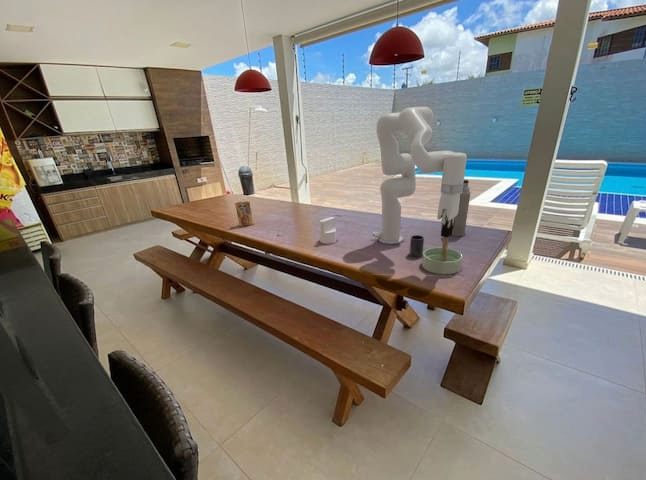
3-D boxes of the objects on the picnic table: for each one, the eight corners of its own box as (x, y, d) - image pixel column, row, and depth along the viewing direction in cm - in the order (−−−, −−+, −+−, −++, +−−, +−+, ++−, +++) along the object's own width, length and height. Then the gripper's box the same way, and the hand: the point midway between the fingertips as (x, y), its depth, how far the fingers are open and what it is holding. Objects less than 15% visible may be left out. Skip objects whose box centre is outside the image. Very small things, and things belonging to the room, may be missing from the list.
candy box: (253, 222, 203) (249, 200, 197) (253, 224, 200) (249, 201, 193) (239, 224, 202) (235, 201, 195) (239, 226, 198) (234, 202, 192)
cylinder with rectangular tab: (328, 236, 171) (327, 215, 166) (340, 240, 165) (339, 218, 160) (316, 241, 166) (315, 219, 160) (328, 245, 160) (327, 222, 155)
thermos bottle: (452, 236, 160) (459, 182, 148) (445, 231, 168) (452, 179, 155) (467, 235, 161) (475, 181, 149) (460, 230, 168) (467, 178, 156)
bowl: (424, 275, 124) (425, 261, 121) (419, 259, 137) (420, 247, 135) (464, 276, 121) (466, 262, 119) (456, 260, 135) (457, 247, 132)
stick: (440, 264, 125) (445, 222, 118) (440, 262, 127) (444, 221, 119) (445, 265, 125) (451, 222, 117) (445, 262, 127) (450, 221, 119)
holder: (410, 258, 139) (411, 239, 136) (409, 253, 145) (410, 235, 141) (423, 258, 138) (424, 239, 135) (421, 253, 144) (423, 235, 140)
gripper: (449, 183, 121) (444, 228, 128) (433, 191, 110) (428, 240, 118) (469, 185, 116) (462, 231, 124) (454, 193, 105) (448, 243, 113)
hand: (446, 235), depth 121 cm, fingers closed on stick, 2 cm apart
